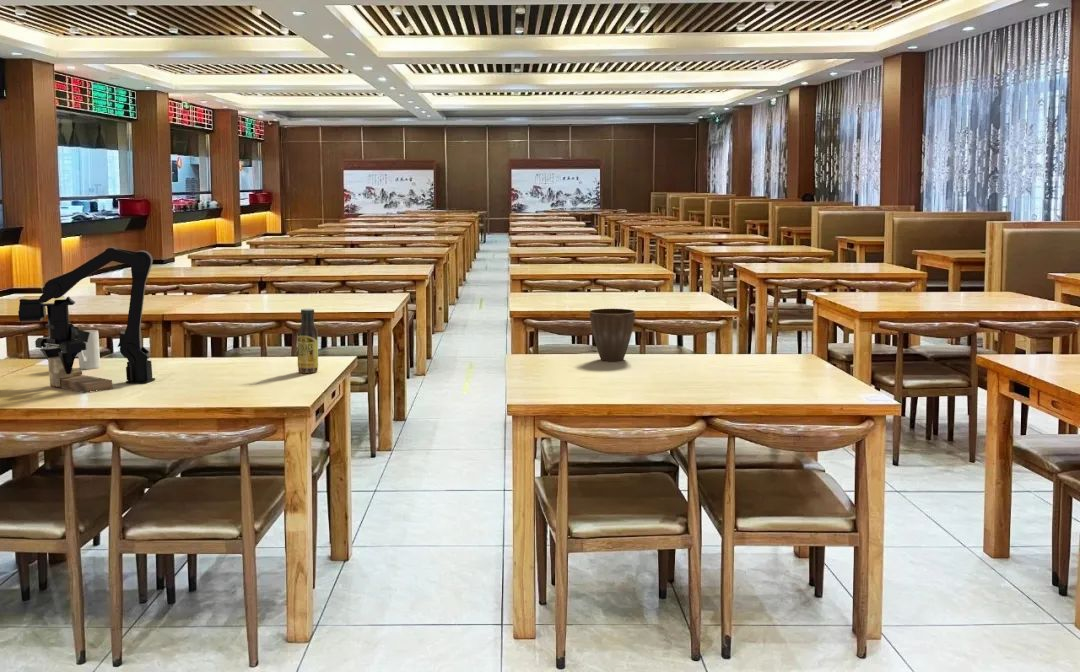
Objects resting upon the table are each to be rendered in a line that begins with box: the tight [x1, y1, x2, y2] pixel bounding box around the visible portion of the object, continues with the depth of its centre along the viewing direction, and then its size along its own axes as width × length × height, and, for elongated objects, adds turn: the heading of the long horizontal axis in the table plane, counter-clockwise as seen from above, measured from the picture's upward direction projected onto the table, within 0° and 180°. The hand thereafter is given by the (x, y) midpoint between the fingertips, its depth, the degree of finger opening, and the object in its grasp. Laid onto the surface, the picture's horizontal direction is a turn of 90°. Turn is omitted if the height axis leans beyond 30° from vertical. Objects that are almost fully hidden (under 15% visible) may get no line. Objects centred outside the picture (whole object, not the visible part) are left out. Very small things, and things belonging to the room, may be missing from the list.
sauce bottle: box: [297, 308, 319, 374], centre depth 339 cm, size 6×6×20 cm
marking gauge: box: [47, 357, 83, 388], centre depth 323 cm, size 4×9×8 cm, turn 142°
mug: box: [77, 329, 101, 370], centre depth 353 cm, size 10×7×12 cm, turn 0°
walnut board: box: [56, 374, 113, 393], centre depth 320 cm, size 20×8×3 cm, turn 52°
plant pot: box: [589, 308, 636, 362], centre depth 354 cm, size 15×15×16 cm
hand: (62, 372), depth 322 cm, fingers open, 6 cm apart
